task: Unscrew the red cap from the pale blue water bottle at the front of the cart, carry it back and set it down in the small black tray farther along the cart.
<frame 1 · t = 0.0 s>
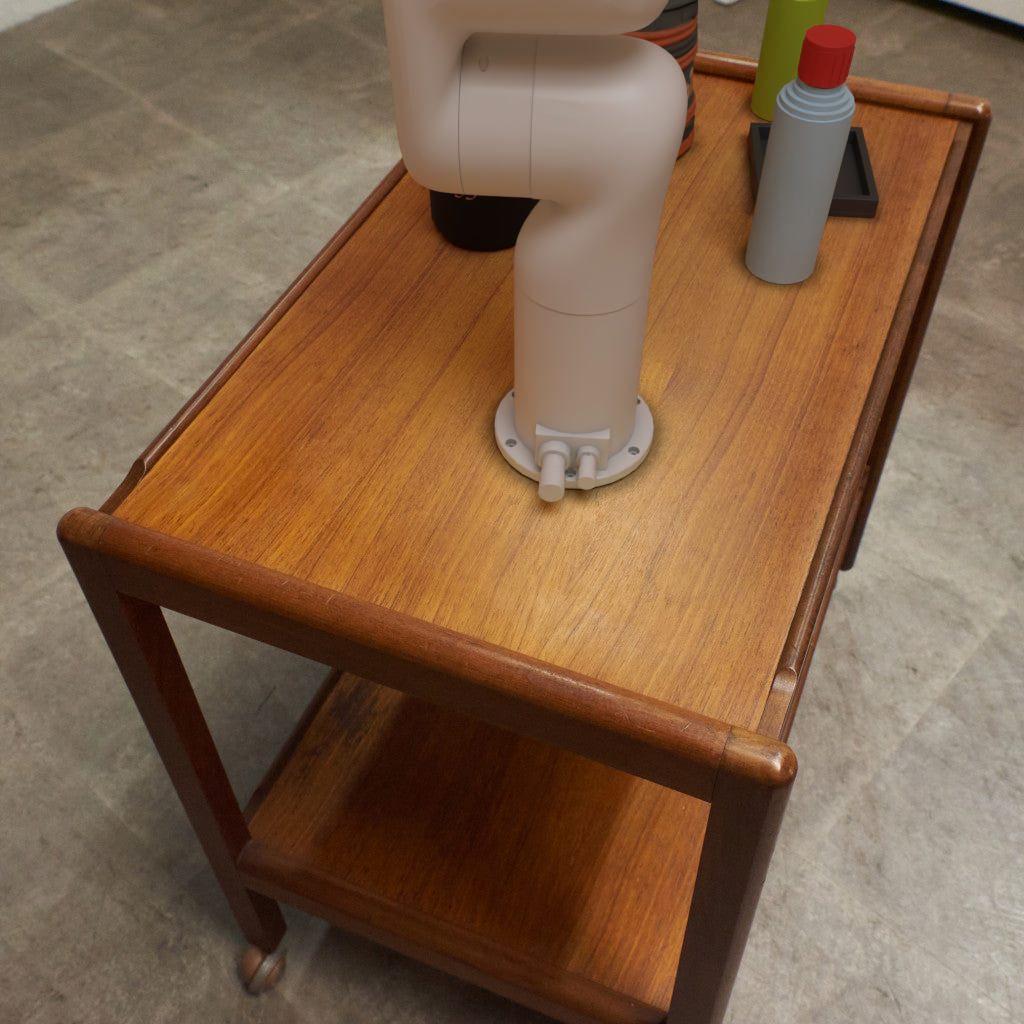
cap: (829, 40, 83), point 21 cm above the serving cart, screwed on, not yet turned
bottle: (779, 263, 100), on the serving cart
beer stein: (605, 133, 115), on the serving cart
tray: (808, 177, 109), on the serving cart
coffee jar: (486, 225, 104), on the serving cart
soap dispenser: (778, 108, 118), on the serving cart
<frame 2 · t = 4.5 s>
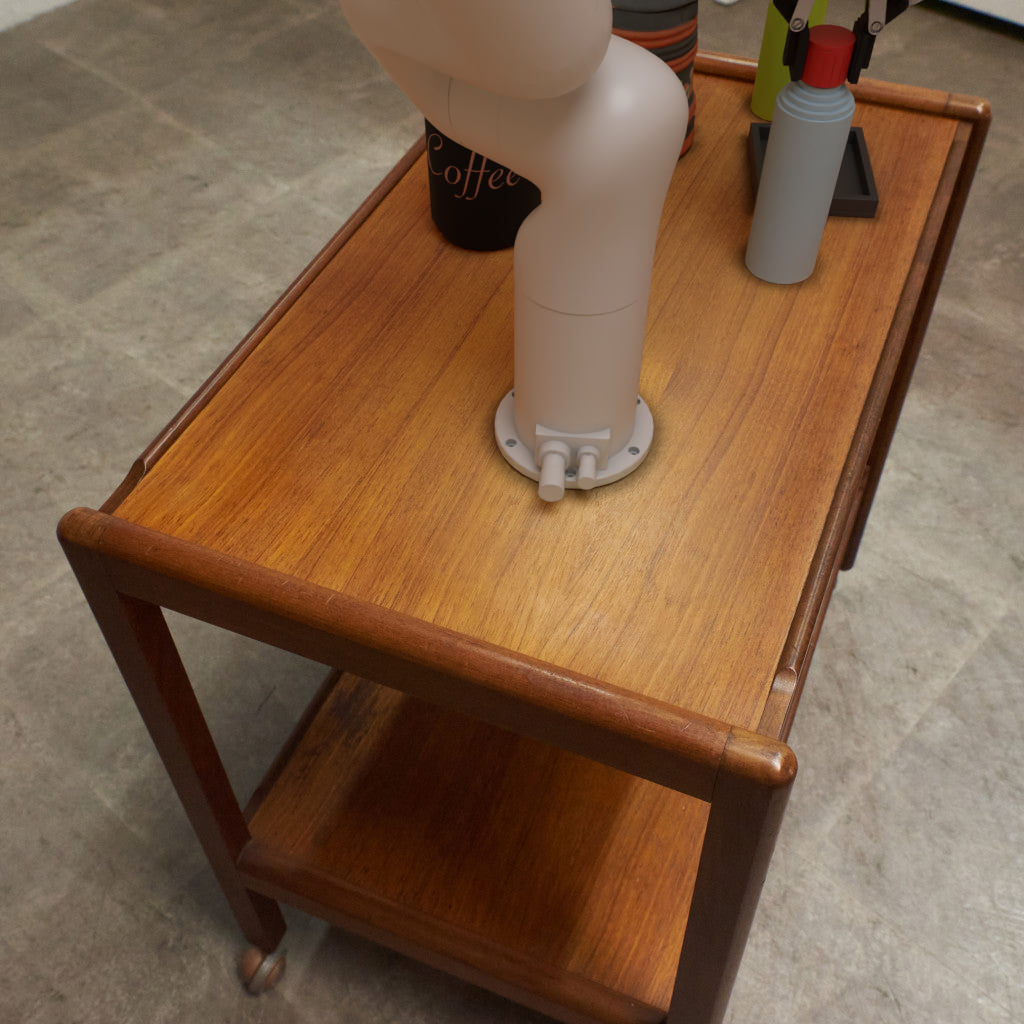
hand: (822, 72, 85), 18 cm above the serving cart, tool pointing down, fingers closed on cap, 3 cm apart
cap: (829, 40, 84), point 21 cm above the serving cart, screwed on, not yet turned, touching gripper
everything else where it was.
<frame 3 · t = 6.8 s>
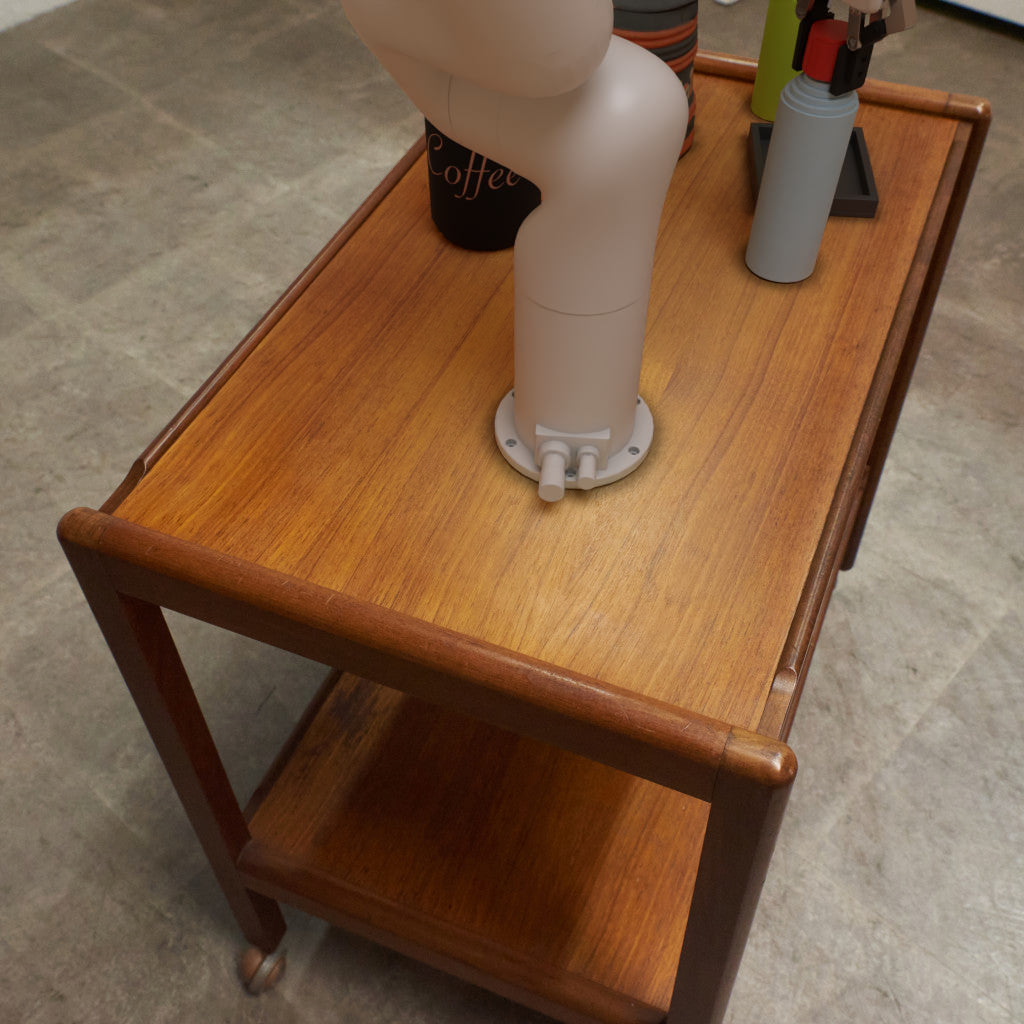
hand: (827, 75, 86), 18 cm above the serving cart, tool pointing down, fingers closed on cap, 3 cm apart
cap: (835, 34, 84), point 21 cm above the serving cart, turned 126° so far, risen 0.1 cm, still on its thread, touching gripper
bottle: (779, 262, 99), on the serving cart, touching gripper
everything else where it was.
when the fingers open (18 cm above the serving cart, at t = 12.5 s): cap stays where it is, point 21 cm above the serving cart.
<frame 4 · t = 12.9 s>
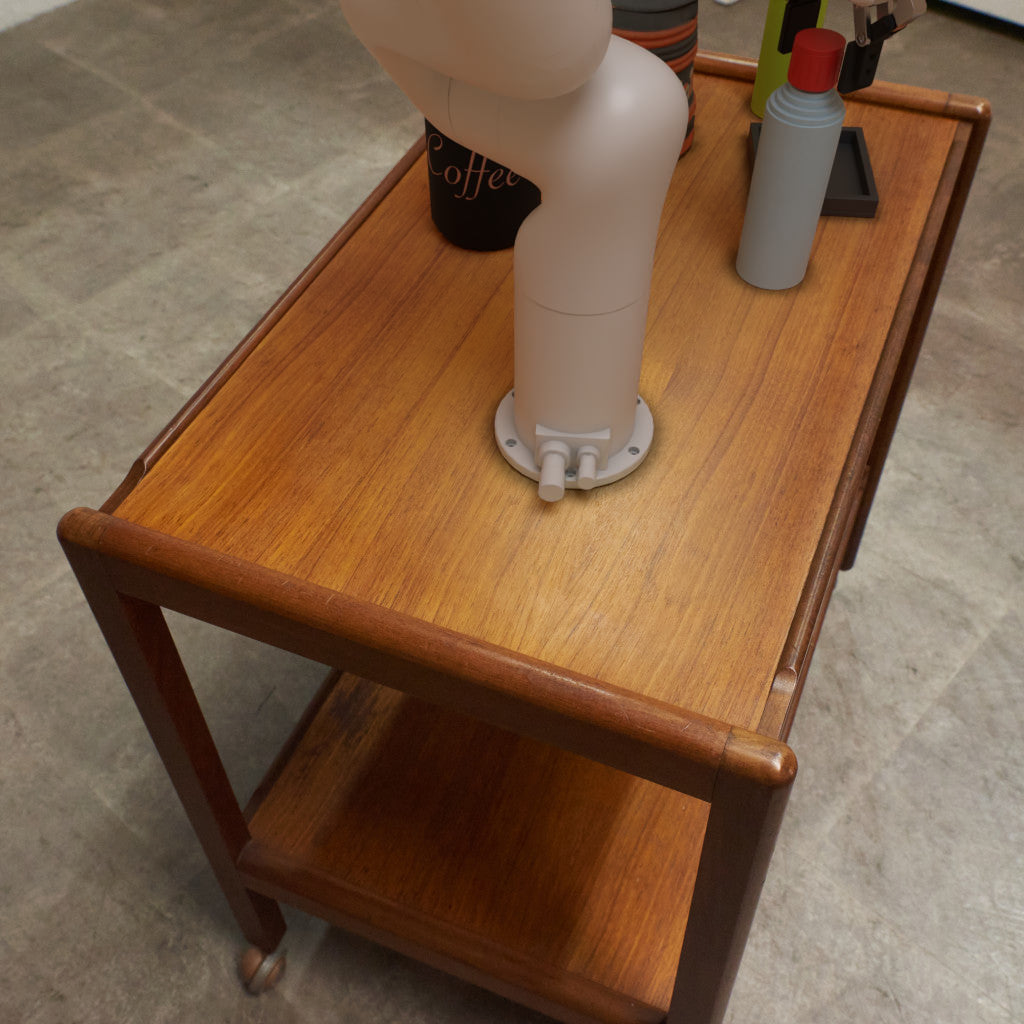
hand: (823, 67, 85), 19 cm above the serving cart, tool pointing down, fingers open, 6 cm apart
cap: (819, 44, 83), point 21 cm above the serving cart, turned 126° so far, risen 0.1 cm, still on its thread
bottle: (770, 268, 99), on the serving cart
everything else where it was.
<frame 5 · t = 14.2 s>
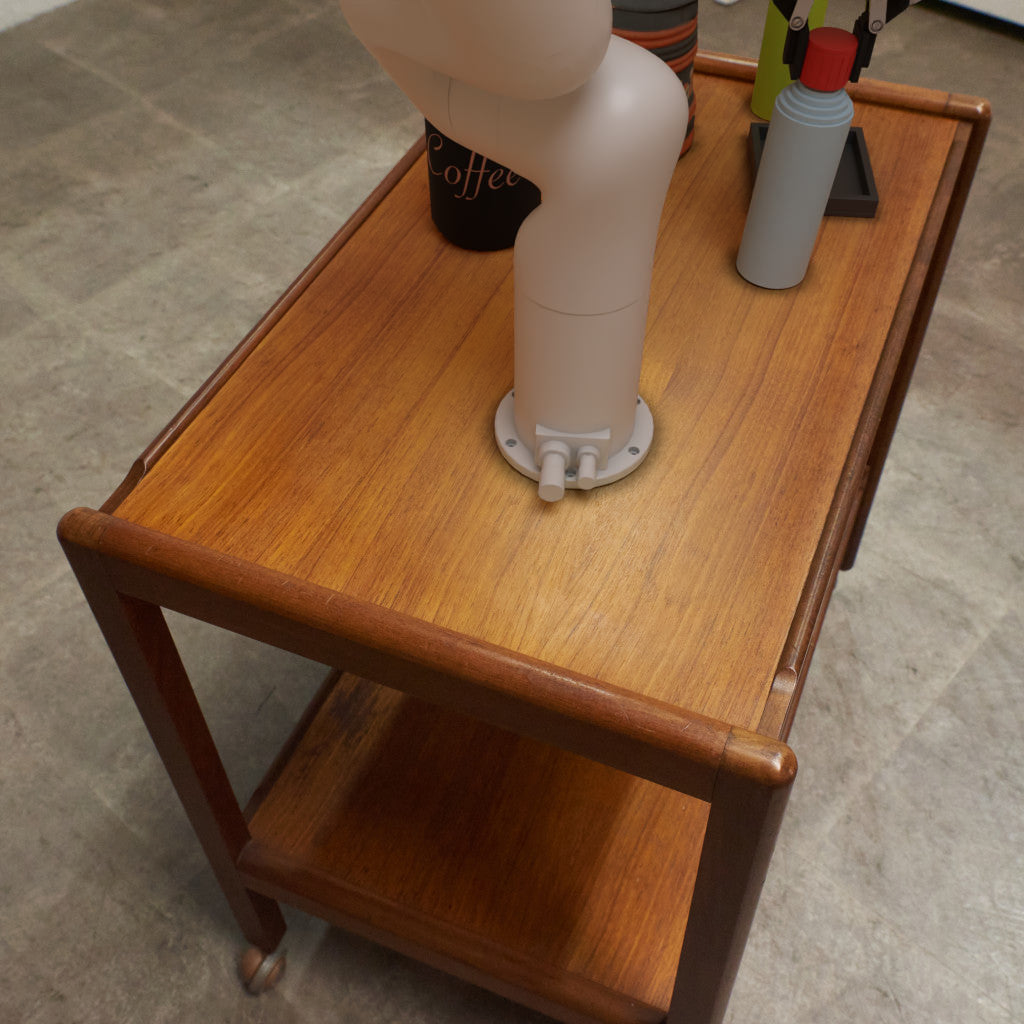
hand: (822, 71, 85), 19 cm above the serving cart, tool pointing down, fingers closed on cap, 3 cm apart
cap: (831, 43, 83), point 21 cm above the serving cart, turned 126° so far, risen 0.1 cm, still on its thread, touching gripper
everything else where it was.
when the fingers open (19 cm above the serving cart, at t = 15.6 s): cap moves 2 cm, point 21 cm above the serving cart.
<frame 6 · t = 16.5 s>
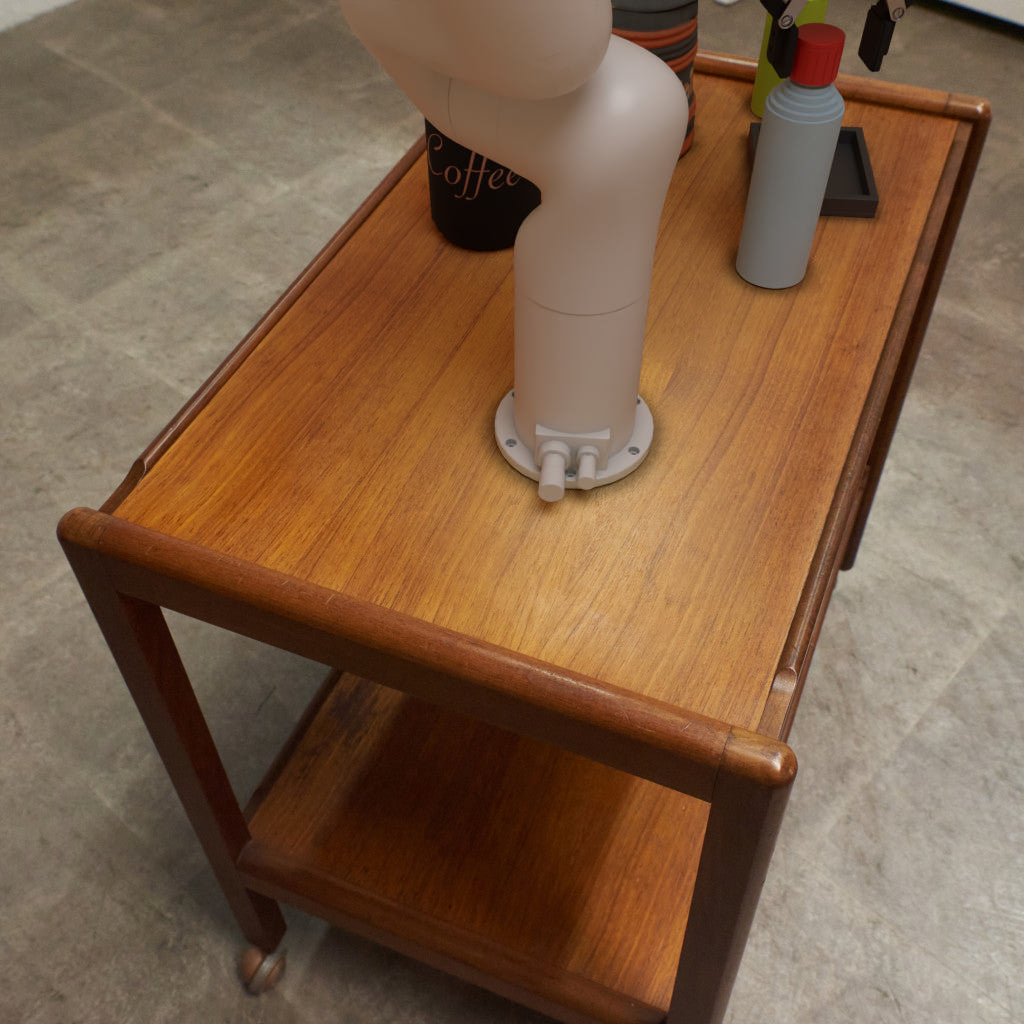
hand: (824, 65, 85), 19 cm above the serving cart, tool pointing down, fingers open, 6 cm apart
cap: (819, 38, 83), point 21 cm above the serving cart, turned 256° so far, risen 0.2 cm, still on its thread
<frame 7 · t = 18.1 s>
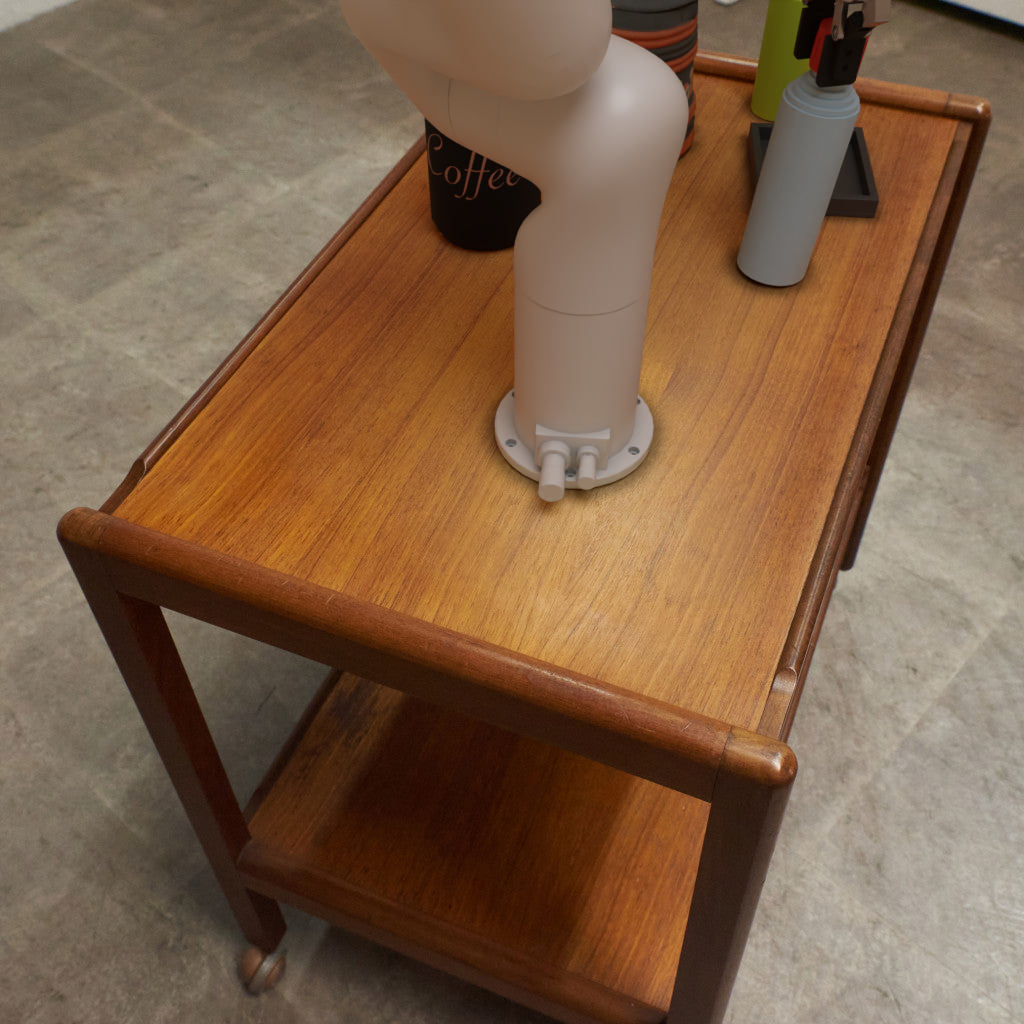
hand: (823, 68, 85), 19 cm above the serving cart, tool pointing down, fingers closed on cap, 3 cm apart
cap: (844, 32, 83), point 22 cm above the serving cart, tilted 6°, off its thread, touching gripper
when the fingers open (2 cm above the serving cart, at t = 27.0 s): cap drops 1 cm, resting on tray.
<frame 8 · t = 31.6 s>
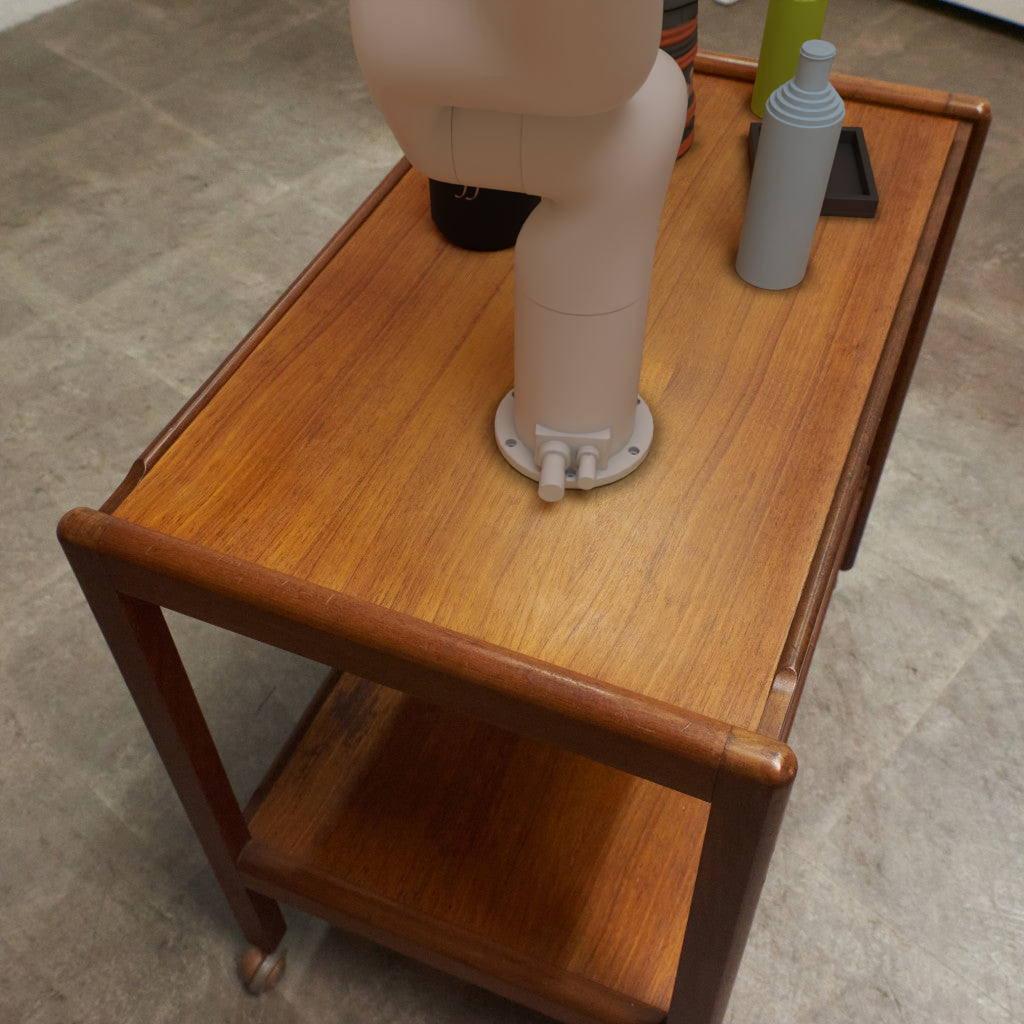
cap: (815, 142, 107), point 3 cm above the serving cart, off its thread, touching tray
bottle: (770, 268, 99), on the serving cart
everything else where it was.
at the end: cap came off its thread; cap inside the target area on the tray (0.8 cm from its centre), point 3.4 cm above the tray's base; the gripper is holding nothing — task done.
